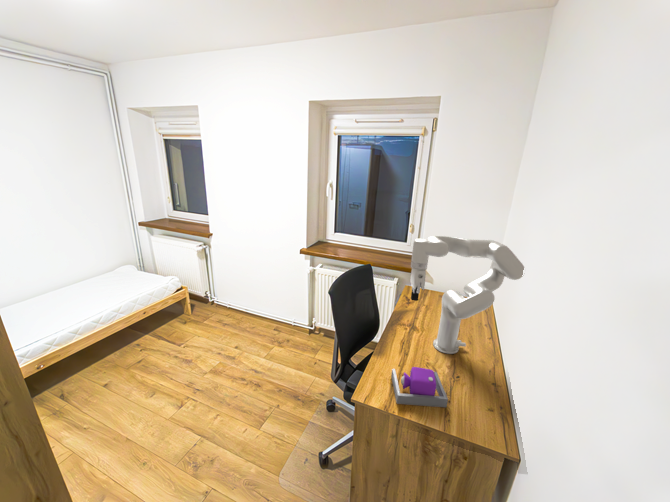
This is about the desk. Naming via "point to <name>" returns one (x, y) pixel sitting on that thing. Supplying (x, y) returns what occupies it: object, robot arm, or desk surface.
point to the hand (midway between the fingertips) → (414, 299)
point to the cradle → (420, 399)
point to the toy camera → (420, 381)
